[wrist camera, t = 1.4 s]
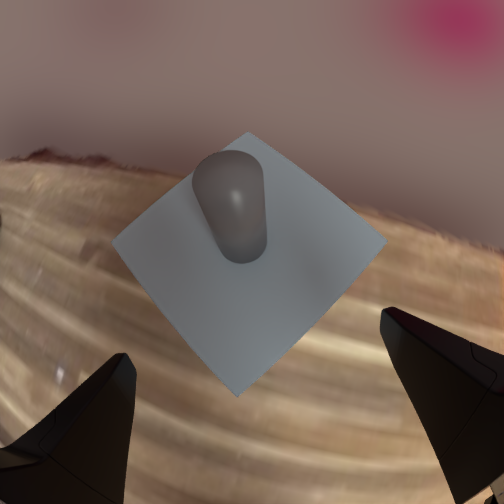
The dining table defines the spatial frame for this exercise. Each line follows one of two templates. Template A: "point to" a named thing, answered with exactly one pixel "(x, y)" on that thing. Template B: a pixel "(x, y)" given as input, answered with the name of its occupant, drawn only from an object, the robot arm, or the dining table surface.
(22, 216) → the dining table surface
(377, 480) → the dining table surface
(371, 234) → the lid
